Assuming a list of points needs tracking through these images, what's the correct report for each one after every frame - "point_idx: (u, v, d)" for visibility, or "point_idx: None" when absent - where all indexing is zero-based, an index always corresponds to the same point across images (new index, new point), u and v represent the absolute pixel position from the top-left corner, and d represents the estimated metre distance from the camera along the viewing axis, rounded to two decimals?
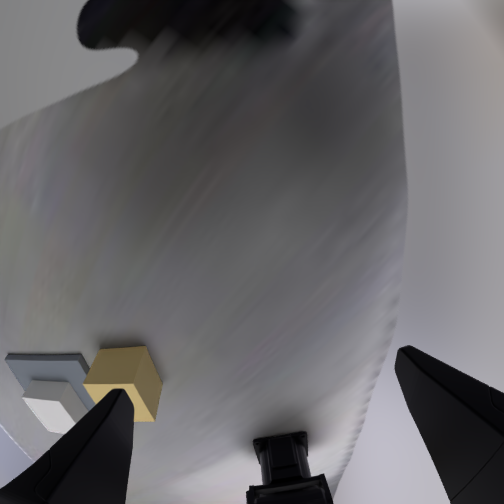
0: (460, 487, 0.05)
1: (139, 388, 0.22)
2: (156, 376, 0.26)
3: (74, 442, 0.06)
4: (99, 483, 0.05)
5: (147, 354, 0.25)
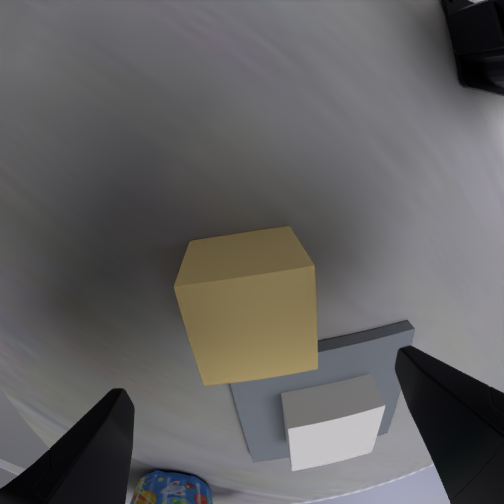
0: (460, 487, 0.05)
1: (205, 275, 0.11)
2: (257, 233, 0.15)
3: (74, 442, 0.06)
4: (99, 483, 0.05)
5: (203, 240, 0.15)
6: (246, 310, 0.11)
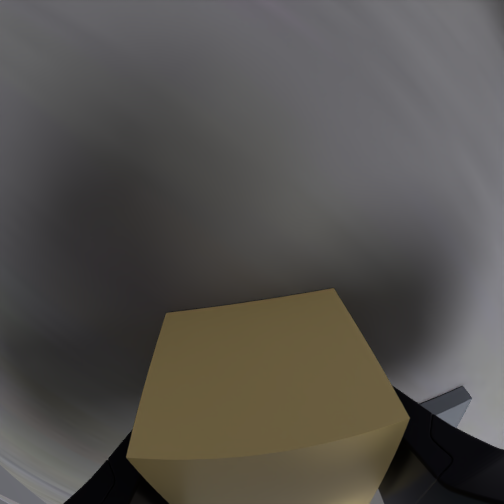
0: None
1: (186, 434, 0.05)
2: (282, 308, 0.08)
3: None
4: None
5: (188, 318, 0.08)
6: (269, 484, 0.05)
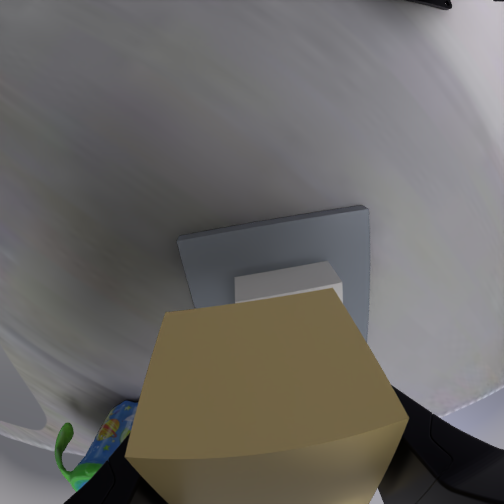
0: None
1: (184, 434, 0.05)
2: (281, 307, 0.08)
3: None
4: None
5: (187, 317, 0.08)
6: (268, 484, 0.05)
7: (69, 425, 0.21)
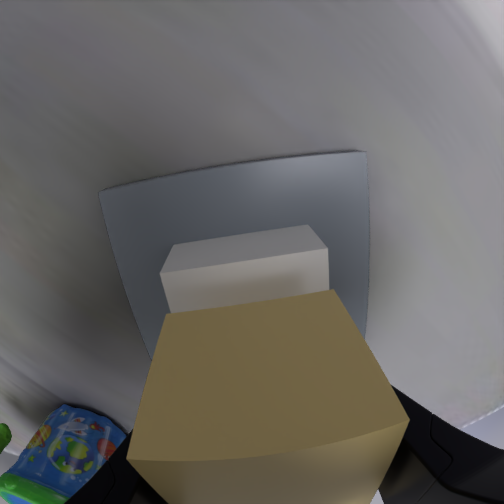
0: None
1: (186, 436, 0.05)
2: (282, 309, 0.08)
3: None
4: None
5: (188, 319, 0.08)
6: (269, 485, 0.05)
7: (4, 426, 0.15)
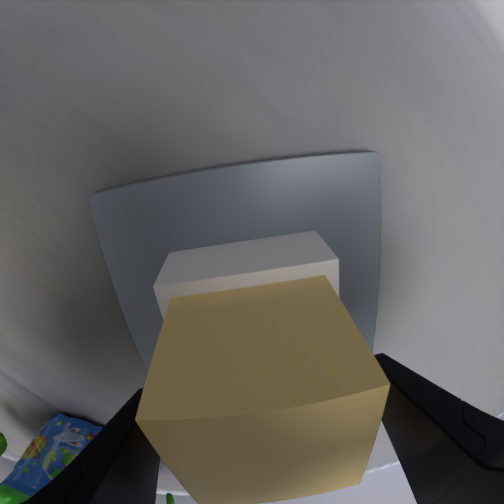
0: (430, 502, 0.05)
1: (189, 398, 0.06)
2: (277, 291, 0.09)
3: (104, 446, 0.06)
4: (131, 488, 0.05)
5: (191, 301, 0.09)
6: (265, 449, 0.06)
7: None
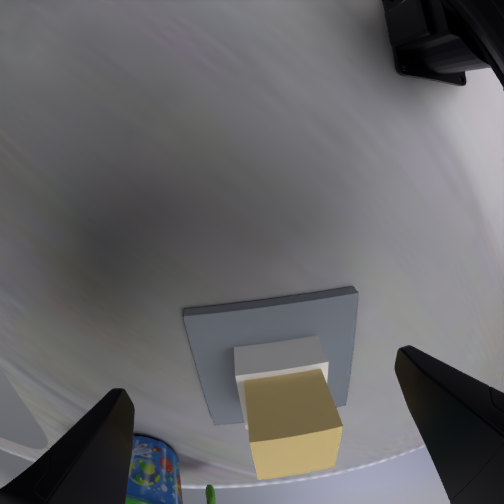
0: (460, 487, 0.05)
1: (269, 432, 0.14)
2: (298, 378, 0.18)
3: (74, 442, 0.06)
4: (99, 483, 0.05)
5: (256, 383, 0.18)
6: (295, 448, 0.14)
7: None
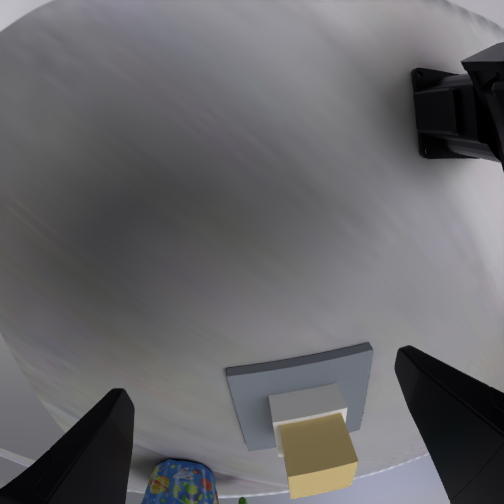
0: (460, 487, 0.05)
1: (302, 467, 0.17)
2: (323, 422, 0.21)
3: (74, 442, 0.06)
4: (99, 483, 0.05)
5: (289, 427, 0.21)
6: (321, 477, 0.17)
7: None
